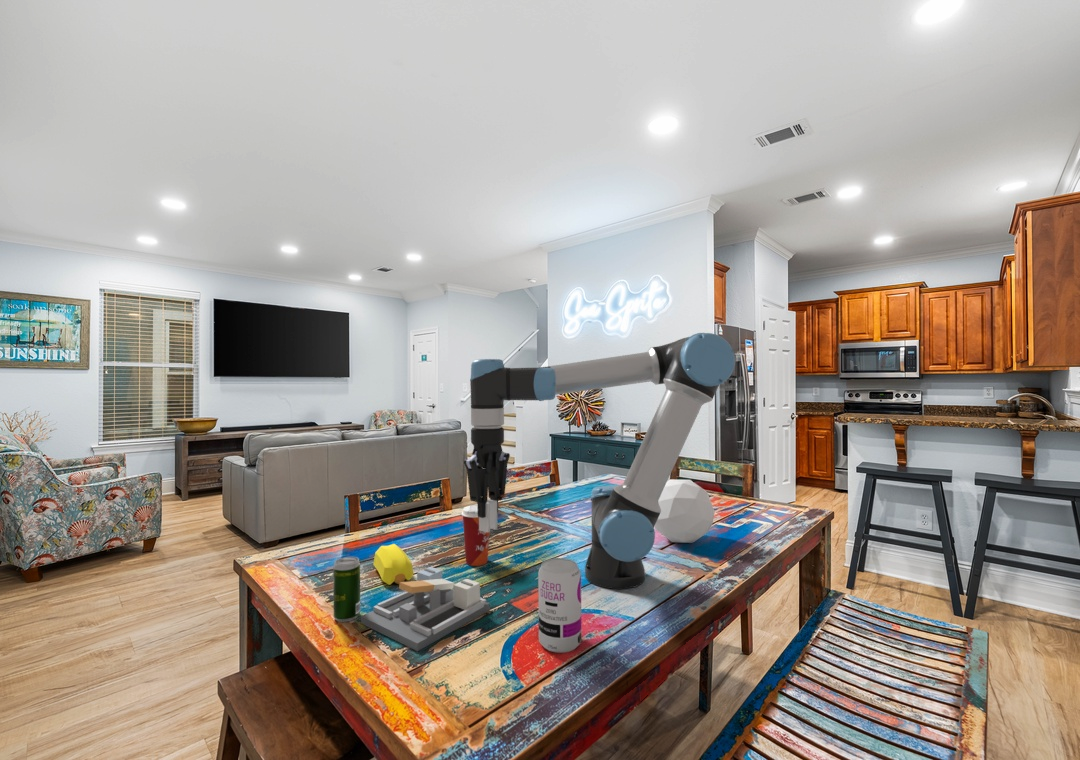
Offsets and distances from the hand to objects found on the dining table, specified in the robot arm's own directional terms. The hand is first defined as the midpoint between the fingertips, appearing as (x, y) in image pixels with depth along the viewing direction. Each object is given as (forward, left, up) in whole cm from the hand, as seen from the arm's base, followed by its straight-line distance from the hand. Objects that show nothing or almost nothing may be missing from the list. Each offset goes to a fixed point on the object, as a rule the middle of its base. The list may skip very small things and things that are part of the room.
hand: (488, 529), depth 111 cm
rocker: (+6, +13, -11) cm, 18 cm away
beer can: (+20, +23, -17) cm, 35 cm away
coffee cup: (+19, -16, -17) cm, 30 cm away
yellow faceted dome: (+31, +3, -17) cm, 35 cm away
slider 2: (0, +7, -15) cm, 16 cm away
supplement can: (-23, +5, -17) cm, 29 cm away
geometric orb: (-21, -66, -17) cm, 71 cm away
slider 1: (+12, +7, -15) cm, 20 cm away
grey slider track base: (+6, +13, -16) cm, 22 cm away
